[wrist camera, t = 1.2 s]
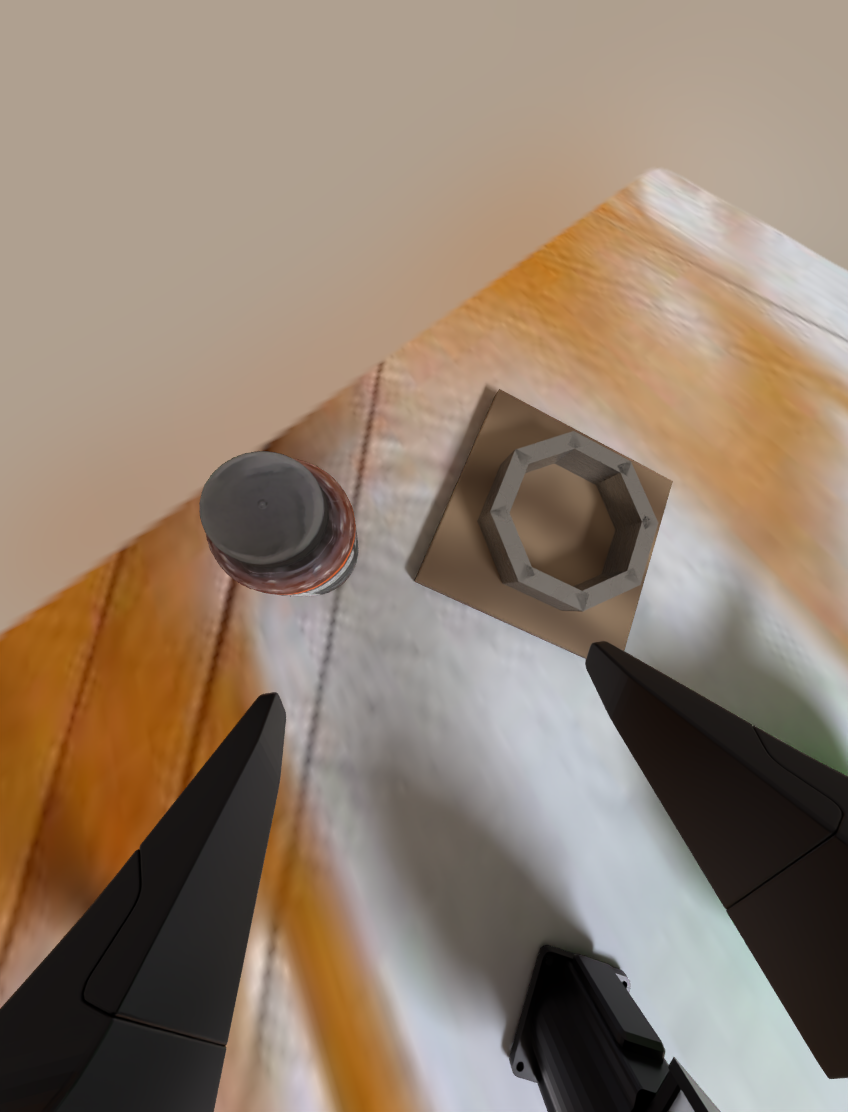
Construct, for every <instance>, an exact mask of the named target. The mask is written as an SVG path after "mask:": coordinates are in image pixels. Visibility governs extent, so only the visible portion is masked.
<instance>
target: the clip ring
mask: <svg viewBox="0 0 848 1112" xmlns="http://www.w3.org/2000/svg"><path fill="white" fill-rule="evenodd" d="M552 464H556V465H558V466H560V467H562V468H564V469H566V470H568V471H570V472H572V473H574V474H576V475H578V476H579V477H581V478H583V479H585V480H587V481H589V482H591V483H593V484H595V485H596V486H597V488H598V491H599V493H600V495H601V498H602V500H603V502H604V505H605V507H606V509H607V512H608V514H609V516H610V519H611V521H612V523H613V525H614V528H615V532H614V535H613V538H612V542H611V545H610V548H609V551H608V554H607V558H606V561H605V564H604V567H603V570H602V573H601V574H600V575H598V576H595V577H593V578H591V579H589V580H586V581H584V582H582V583H579V584H577V585H575V586H571V585H569V584H566V583H564V582H562V581H560V580H558V579H556V578H554V577H552V576H550V575H547V574H545V573H543V572H541V571H539V570H537V569H535V568H533V567H532V566H531V564H530V561H529V559H528V556H527V554H526V552H525V549H524V547H523V544H522V542H521V539H520V537H519V535H518V532H517V530H516V527H515V525H514V522H513V520H512V518H511V515H510V511H511V508H512V505H513V503H514V500H515V498H516V495H517V493H518V490H519V488H520V485H521V482H522V480H523V477H524V475H525V473H528V472H531V471H534V470H537V469H540V468H543V467H546V466H549V465H552ZM477 522H478V524H479V527H480V529H481V532H482V534H483V537H484V539H485V541H486V544H487V546H488V549H489V551H490V554H491V556H492V559H493V561H494V564H495V566H496V569H497V571H498V574H499V576H500V579H501V581H502V584H505V585H507V586H509V587H511V588H513V589H515V590H518V591H520V592H522V593H524V594H526V595H528V596H531V597H533V598H535V599H537V600H539V601H541V602H544V603H546V604H548V605H550V606H552V607H554V608H556V609H559V610H560V611H581V612H584V611H585V610H587V609H589V608H591V607H594V606H596V605H598V604H600V603H602V602H604V601H607V600H609V599H611V598H613V597H615V596H617V595H620V594H622V593H624V592H626V591H628V590H630V589H633V588H635V587H637V586H639V585H641V581H642V578H643V574H644V571H645V568H646V564H647V561H648V557H649V554H650V550H651V547H652V543H653V540H654V536H655V533H656V529H657V526H658V521H657V519H656V517H655V514H654V512H653V510H652V508H651V505H650V503H649V501H648V498H647V496H646V494H645V492H644V489H643V487H642V485H641V483H640V480H639V478H638V476H637V474H636V471H635V469H634V467H633V465H632V462H631V461H630V460H628V459H626V458H624V457H622V456H620V455H618V454H616V453H614V452H613V451H611V450H609V449H607V448H605V447H603V446H601V445H599V444H598V443H596V442H594V441H592V440H590V439H588V438H586V437H584V436H582V435H581V434H579V433H577V432H575V431H572V432H569V433H566V434H563V435H559V436H556V437H553V438H550V439H547V440H544V441H541V442H537V443H534V444H531V445H528V446H525V447H522V448H519V449H515V450H514V451H513V452H512V453H511V454H510V455H509V456H508V457H507V458H506V459H505V460H504V461H503V462H502V463H501V464H500V467H499V469H498V472H497V474H496V477H495V479H494V482H493V484H492V486H491V489H490V491H489V494H488V496H487V499H486V501H485V504H484V506H483V508H482V511H481V513H480V516H479V518H478V520H477Z"/></svg>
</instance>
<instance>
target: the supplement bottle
mask: <svg viewBox="0 0 848 1112" xmlns="http://www.w3.org/2000/svg"><path fill="white" fill-rule="evenodd" d="M200 518H201V522H202V525H203V528H204V530H205V532H206V537H207V541H208V544H209V547H210V550H211V552H212V554H213V555H214V557H215V559H216V560H217V562H218V564H219V565H220V567H221V568H222V569H223V570H224V571H225V572H226V573H227V574H228V575H229V576H230V577H232V578H233V579H234V580H235V581H237V582H238V583H240V584H242V585H244V586H246V587H248V588H250V589H254V590H256V591H260V592H264V593H269V594H277V595H289V596H315V595H321V594H325V593H328V592H330V591H332V590H334V589H336V588H337V587H339V586H340V585H341V584H343V583H344V582H345V581H346V580H347V578H348V577H349V576H350V574H351V573H352V571H353V569H354V567H355V565H356V561H357V556H358V541H357V532H356V524H355V518H354V512H353V509H352V506H351V504H350V501H349V499H348V497H347V495H346V493H345V492H344V490H343V489H342V488H341V486H340V485H339V484H338V483H337V482H336V481H335V479H334V478H333V477H331V476H330V475H329V474H328V473H326V472H325V471H323V470H322V469H320V468H318V467H317V466H315V465H313V464H310V463H308V462H305V461H302V460H298V459H292V458H290V457H288V456H286V455H283V454H279V453H275V452H268V451H257V452H251V453H245V454H242V455H239V456H237V457H234V458H232V459H231V460H229V461H227V462H225V463H224V464H222V465H221V466H220V467H219V468H218V469H217V470H216V471H215V472H214V473H213V474H212V475H211V476H210V478H209V479H208V481H207V482H206V484H205V485H204V488H203V491H202V494H201V499H200Z"/></svg>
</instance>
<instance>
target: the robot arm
mask: <svg viewBox="0 0 848 1112" xmlns="http://www.w3.org/2000/svg"><path fill="white" fill-rule="evenodd" d="M585 664H586V669H587V671H588V673H589V675H590V677H591V679H592V682H593V684H594V686H595V688H596V690H597V692H598V694H599V696H600V698H601V700H602V702H603V704H604V706H605V709H606V711H607V713H608V714H609V716H610V718H611V720H612V722H613V724H614V725H615V727H616V729H617V730H618V732H619V734H620V735H621V737H622V739H623V740H624V742H625V744H626V745H627V747H628V749H629V750H630V752H631V754H632V755H633V757H634V759H635V760H636V762H637V763H638V765H639V767H640V768H641V770H642V772H643V773H644V775H645V777H646V778H647V780H648V782H649V783H650V785H651V787H652V788H653V790H654V792H655V793H656V795H657V797H658V798H659V800H660V802H661V803H662V805H663V807H664V808H665V810H666V812H667V813H668V815H669V817H670V818H671V820H672V821H673V823H674V825H675V826H676V828H677V830H678V831H679V833H680V835H681V836H682V838H683V840H684V841H685V843H686V845H687V846H688V848H689V850H690V851H691V853H692V855H693V856H694V858H695V860H696V861H697V863H698V865H699V866H700V868H701V870H702V871H703V873H704V874H705V876H706V878H707V879H708V881H709V883H710V884H711V886H712V888H713V889H714V891H715V893H716V894H717V896H718V898H719V899H720V901H721V903H722V904H723V906H724V907H725V908H726V911H727V913H728V915H729V916H730V918H731V920H732V921H733V923H734V925H735V926H736V928H737V930H738V931H739V933H740V935H741V936H742V938H743V940H744V941H745V943H746V945H747V946H748V948H749V949H750V951H751V953H752V954H753V956H754V958H755V959H756V961H757V963H758V964H759V966H760V968H761V969H762V971H763V973H764V974H765V976H766V978H767V979H768V981H769V983H770V984H771V986H772V988H773V989H774V991H775V993H776V994H777V996H778V997H779V999H780V1001H781V1002H782V1004H783V1006H784V1007H785V1009H786V1011H787V1012H788V1014H789V1016H790V1017H791V1019H792V1021H793V1022H794V1024H795V1026H796V1027H797V1029H798V1031H799V1032H800V1034H801V1036H802V1037H803V1039H804V1041H805V1042H806V1044H807V1046H808V1047H809V1049H810V1050H811V1052H812V1054H813V1055H814V1057H815V1059H816V1060H817V1062H818V1063H819V1065H820V1067H821V1068H822V1069H823V1071H824V1072H825V1074H826V1075H827V1077H828V1078H829V1079H838V1078H848V776H846V775H844V774H842V773H840V772H838V771H836V770H834V769H832V768H830V767H828V766H826V765H824V764H823V763H821V762H819V761H817V760H815V759H813V758H811V757H809V756H807V755H805V754H804V753H802V752H800V751H798V750H796V749H795V748H793V747H791V746H789V745H787V744H786V743H784V742H782V741H780V740H778V739H777V738H775V737H773V736H771V735H769V734H768V733H766V732H764V731H763V730H761V729H759V728H757V727H755V726H752V725H751V724H750V723H748V722H747V721H745V720H743V719H741V718H740V717H738V716H736V715H734V714H733V713H731V712H729V711H727V710H726V709H724V708H722V707H720V706H719V705H717V704H715V703H714V702H712V701H710V700H708V699H707V698H705V697H703V696H701V695H700V694H698V693H696V692H694V691H693V690H691V689H689V688H687V687H686V686H684V685H682V684H680V683H679V682H677V681H675V680H673V679H672V678H670V677H668V676H666V675H665V674H663V673H661V672H659V671H658V670H656V669H654V668H653V667H651V666H649V665H647V664H646V663H644V662H642V661H640V660H639V659H637V658H635V657H633V656H632V655H630V654H628V653H626V652H625V651H623V650H621V649H619V648H618V647H616V646H614V645H612V644H611V643H609V642H606V641H600V642H594V643H592V644H591V645H590V648H589V651H588V655H587V658H586V662H585ZM285 724H286V712H285V709H284V707H283V704H282V702H281V699H280V697H279V695H278V693H276V692H273V693H266V694H262V695H260V696H259V697H258V698H257V699H256V700H255V702H254V703H253V704H252V706H251V707H250V708H249V709H248V711H247V712H246V713H245V714H244V716H243V717H242V718H241V719H240V721H239V722H238V723H237V724H236V726H235V727H234V728H233V729H232V731H231V732H230V733H229V734H228V736H227V737H226V738H225V739H224V741H223V742H222V743H221V744H220V746H219V747H218V748H217V749H216V751H215V752H214V753H213V754H212V756H211V757H210V758H209V759H208V761H207V762H206V763H205V765H204V766H203V767H202V768H201V770H200V771H199V772H198V773H197V775H196V776H195V777H194V778H193V780H192V781H191V782H190V783H189V785H188V786H187V787H186V788H185V790H184V791H183V792H182V793H181V795H180V796H179V797H178V798H177V800H176V801H175V802H174V803H173V805H172V806H171V807H170V808H169V810H168V811H167V812H166V813H165V815H164V816H163V817H162V819H161V820H160V821H159V822H158V824H157V825H156V826H155V827H154V829H153V830H152V831H151V832H150V834H149V835H148V836H147V837H146V839H145V840H144V841H143V842H142V844H141V845H140V850H139V849H138V850H136V851H135V852H134V853H133V855H132V856H131V857H130V858H129V860H128V861H127V862H126V863H125V865H124V866H123V867H122V869H121V870H120V871H119V872H118V873H117V875H116V876H115V877H114V878H113V880H112V881H111V882H110V883H109V884H108V886H107V887H106V888H105V889H104V891H103V892H102V893H101V894H100V895H99V897H98V898H97V899H96V900H95V901H94V903H93V904H92V905H91V906H90V908H89V909H88V910H87V911H86V912H85V913H84V914H83V916H82V917H81V918H80V919H79V920H78V921H77V923H76V924H75V925H74V926H73V927H72V928H71V929H70V931H69V932H68V933H67V934H66V935H65V936H64V938H63V939H62V940H61V941H60V942H59V943H58V944H57V946H56V947H55V948H54V949H53V950H52V951H51V952H50V953H49V955H48V956H47V957H46V958H45V959H44V960H43V961H42V962H41V964H40V965H39V966H38V967H37V968H36V969H35V970H34V971H33V973H32V974H31V975H30V976H29V977H28V978H27V979H26V980H25V982H24V983H23V984H22V985H21V986H20V987H19V988H18V989H17V991H16V992H15V993H14V994H13V995H12V996H11V997H10V998H9V1000H8V1001H7V1002H6V1003H5V1004H4V1005H3V1006H2V1007H1V1009H0V1112H214V1108H215V1103H216V1098H217V1093H218V1088H219V1083H220V1078H221V1073H222V1068H223V1063H224V1058H225V1053H226V1044H227V1042H228V1037H229V1032H230V1027H231V1022H232V1017H233V1012H234V1007H235V1002H236V997H237V992H238V987H239V982H240V977H241V972H242V967H243V962H244V957H245V953H246V948H247V943H248V938H249V933H250V928H251V923H252V918H253V913H254V908H255V903H256V898H257V893H258V888H259V883H260V878H261V873H262V868H263V863H264V858H265V853H266V848H267V843H268V838H269V833H270V828H271V823H272V819H273V814H274V809H275V804H276V799H277V794H278V788H279V783H280V775H281V766H282V755H283V745H284V734H285ZM548 956H549V958H547V957H548ZM630 986H631V984H630V980H629V979H628V977H627V976H626V974H625V973H624V972H623V971H622V970H620V969H617V968H614V967H611V966H610V965H609V964H606V963H603V962H600V961H597V960H595V959H592V958H589V957H586V956H583V955H580V954H573V953H570V952H567V951H564V950H561V949H558V948H555V947H553V946H550V945H545V946H543V947H542V948H541V949H540V952H539V955H538V958H537V962H536V965H535V969H534V973H533V976H532V980H531V983H530V987H529V990H528V994H527V997H526V1001H525V1004H524V1008H523V1011H522V1015H521V1018H520V1022H519V1025H518V1029H517V1032H516V1036H515V1039H514V1043H513V1046H512V1050H511V1053H510V1058H509V1060H510V1065H511V1068H512V1071H513V1073H514V1075H515V1076H517V1077H519V1078H523V1079H526V1080H529V1081H533V1082H536V1083H538V1086H539V1089H540V1091H541V1094H542V1097H543V1100H544V1103H545V1105H546V1108H547V1111H548V1112H720V1110H719V1109H718V1108H717V1107H716V1106H715V1104H714V1103H713V1102H712V1101H711V1100H710V1099H709V1097H708V1096H707V1095H706V1094H705V1093H704V1091H703V1090H702V1089H701V1088H700V1087H699V1086H698V1084H697V1083H696V1082H695V1081H694V1080H693V1078H692V1077H691V1076H690V1075H689V1074H688V1072H687V1071H686V1070H685V1069H684V1068H683V1067H682V1065H681V1064H680V1063H679V1062H678V1061H677V1059H676V1058H675V1057H673V1059H672V1061H671V1062H670V1064H669V1065H668V1063H667V1062H666V1060H665V1059H664V1055H665V1048H664V1046H663V1044H662V1042H661V1040H660V1038H659V1037H658V1035H657V1034H656V1032H655V1031H654V1030H653V1028H652V1027H651V1025H650V1024H649V1022H648V1021H647V1019H646V1018H645V1016H644V1015H643V1013H642V1012H641V1010H640V1009H639V1007H638V1006H637V1004H636V1003H635V1001H634V1000H633V998H632V997H631V995H630V994H629V991H630Z"/></svg>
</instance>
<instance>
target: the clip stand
mask: <svg viewBox="0 0 848 1112" xmlns="http://www.w3.org/2000/svg"><path fill="white" fill-rule="evenodd" d="M572 431H575V432H577V433H579V434H581V435H582V436H584V437H586V438H588V439H590V440H592V441H594V442H596V443H598V444H599V445H601V446H603V447H605V448H607V449H609V450H611V451H613V452H614V453H616V454H618V455H620V456H622V457H624V458H626V459H628V460H630V461H631V462H632V465H633V467H634V469H635V471H636V474H637V476H638V478H639V480H640V483H641V485H642V487H643V489H644V492H645V494H646V496H647V498H648V501H649V503H650V505H651V508H652V510H653V512H654V514H655V517H656V519H657V521H658V526H657V529H656V533H655V536H654V540H653V543H652V547H651V550H650V554H649V557H648V561H647V564H646V568H645V571H644V574H643V578H642V581H641V585H639V586H637V587H635V588H633V589H630V590H628V591H626V592H624V593H622V594H620V595H617V596H615V597H613V598H611V599H609V600H607V601H604V602H602V603H600V604H598V605H596V606H594V607H591V608H589V609H587V610H585V611H584V612H581V611H560V610H559V609H556V608H554V607H552V606H550V605H548V604H546V603H544V602H541V601H539V600H537V599H535V598H533V597H531V596H528V595H526V594H524V593H522V592H520V591H518V590H515V589H513V588H511V587H509V586H507V585H505V584H502V581H501V579H500V576H499V574H498V571H497V569H496V566H495V564H494V561H493V559H492V556H491V554H490V551H489V549H488V546H487V544H486V541H485V539H484V537H483V534H482V532H481V529H480V527H479V524H478V522H477V520H478V518H479V516H480V513H481V511H482V508H483V506H484V504H485V501H486V499H487V496H488V494H489V491H490V489H491V486H492V484H493V482H494V479H495V477H496V474H497V472H498V469H499V467H500V464H501V463H502V462H503V461H504V460H505V459H506V458H507V457H508V456H509V455H510V454H511V453H512V452H513V451H514V450H515V449H519V448H522V447H525V446H528V445H531V444H534V443H537V442H541V441H544V440H547V439H550V438H553V437H556V436H559V435H563V434H566V433H569V432H572ZM672 482H673V481H671V480H669V479H667V478H666V477H664V476H662V475H660V474H658V473H656V472H654V471H652V470H651V469H649V468H647V467H645V466H643V465H641V464H639V463H637V462H635V461H634V460H632V459H630V458H628V457H626V456H624V455H622V454H620V453H619V452H617V451H615V450H613V449H611V448H609V447H607V446H605V445H604V444H602V443H600V442H598V441H596V440H594V439H592V438H590V437H588V436H587V435H585V434H583V433H581V432H579V431H577V430H575V429H573V428H572V427H570V426H568V425H566V424H564V423H562V422H560V421H558V420H557V419H555V418H553V417H551V416H549V415H547V414H545V413H543V412H541V411H540V410H538V409H536V408H534V407H532V406H530V405H528V404H526V403H525V402H523V401H521V400H519V399H517V398H515V397H513V396H511V395H510V394H508V393H506V392H504V391H502V390H500V389H499V391H498V392H497V394H496V395H495V397H494V399H493V402H492V404H491V406H490V408H489V411H488V413H487V415H486V418H485V420H484V422H483V425H482V427H481V429H480V431H479V434H478V436H477V438H476V441H475V443H474V445H473V448H472V450H471V452H470V454H469V457H468V459H467V461H466V464H465V466H464V468H463V470H462V473H461V475H460V477H459V480H458V482H457V484H456V487H455V489H454V491H453V493H452V496H451V498H450V500H449V503H448V505H447V507H446V510H445V512H444V514H443V516H442V519H441V521H440V523H439V526H438V528H437V530H436V532H435V535H434V537H433V539H432V542H431V544H430V546H429V549H428V551H427V553H426V555H425V558H424V560H423V562H422V565H421V567H420V569H419V572H418V574H417V576H416V578H415V581H414V582H417V583H419V584H421V585H423V586H425V587H428V588H430V589H432V590H434V591H437V592H439V593H441V594H443V595H445V596H448V597H450V598H452V599H454V600H456V601H459V602H461V603H463V604H465V605H468V606H470V607H472V608H474V609H476V610H479V611H481V612H483V613H485V614H488V615H490V616H492V617H494V618H496V619H499V620H501V621H503V622H505V623H508V624H510V625H512V626H514V627H516V628H519V629H521V630H523V631H525V632H527V633H530V634H532V635H534V636H536V637H539V638H541V639H543V640H545V641H547V642H550V643H552V644H554V645H556V646H559V647H561V648H563V649H565V650H567V651H570V652H572V653H574V654H576V655H579V656H581V657H583V658H585V659H586V658H587V655H588V651H589V648H590V645H591V644H592V643H594V642H600V641H606V642H609V643H611V644H612V645H614V646H616V647H618V648H619V649H621V650H623V651H624V650H625V646H626V643H627V639H628V636H629V632H630V629H631V625H632V622H633V618H634V615H635V611H636V608H637V604H638V601H639V597H640V594H641V590H642V587H643V583H644V580H645V576H646V573H647V569H648V566H649V562H650V559H651V555H652V552H653V548H654V545H655V541H656V538H657V534H658V531H659V527H660V524H661V520H662V517H663V513H664V510H665V506H666V503H667V499H668V496H669V492H670V489H671V485H672ZM510 515H511V518H512V520H513V522H514V525H515V527H516V530H517V532H518V535H519V537H520V539H521V542H522V544H523V547H524V549H525V552H526V554H527V556H528V559H529V561H530V564H531V566H532V567H533V568H535V569H537V570H539V571H541V572H543V573H545V574H547V575H550V576H552V577H554V578H556V579H558V580H560V581H562V582H564V583H566V584H569V585H571V586H575V585H577V584H579V583H582V582H584V581H586V580H589V579H591V578H593V577H595V576H598V575H600V574H601V573H602V570H603V567H604V564H605V561H606V558H607V554H608V551H609V548H610V545H611V542H612V538H613V535H614V532H615V528H614V525H613V523H612V521H611V519H610V516H609V514H608V512H607V509H606V507H605V505H604V502H603V500H602V498H601V495H600V493H599V491H598V488H597V486H596V485H595V484H593V483H591V482H589V481H587V480H585V479H583V478H581V477H579V476H578V475H576V474H574V473H572V472H570V471H568V470H566V469H564V468H562V467H560V466H558V465H556V464H552V465H549V466H546V467H543V468H540V469H537V470H534V471H531V472H528V473H525V475H524V477H523V480H522V482H521V485H520V488H519V490H518V493H517V495H516V498H515V500H514V503H513V505H512V508H511V511H510Z"/></svg>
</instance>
